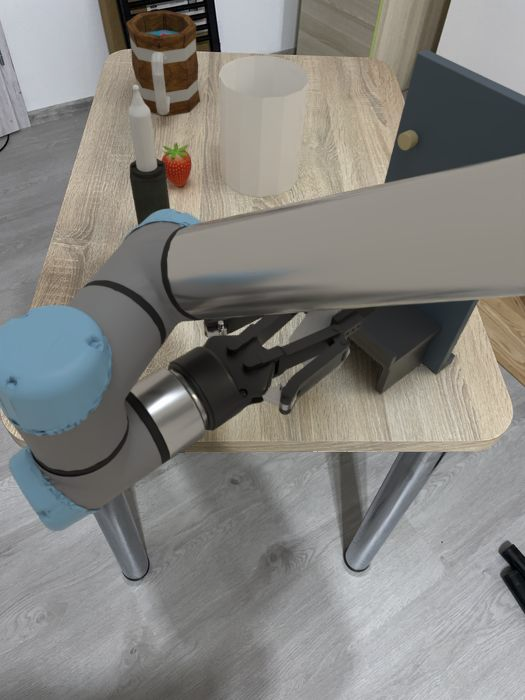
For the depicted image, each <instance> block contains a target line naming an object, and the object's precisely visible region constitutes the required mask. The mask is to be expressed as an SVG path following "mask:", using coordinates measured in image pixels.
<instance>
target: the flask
mask: <svg viewBox="0 0 525 700" xmlns="http://www.w3.org/2000/svg"><path fill="white" fill-rule="evenodd" d="M339 312H341V310H327V311H313V312H308V313H307V314H305V316H304V317H303V319H302V320H301V321H300V323H299V324H298V325H297V326H296V328H295V329H294V330H293V332H292V333H291V335H290V336H289V337H288V344H289V343H292V342H294V341H296V340H299V339H301V338H303V337H306V336H308V335H310V334H313V333H315V332H317V331H319V330H322V329H324V328H326V327H329V326H330V324H331V319H332V317H333V316H335V315H336V314H338V313H339ZM346 339H348V337H347V338H346ZM350 353H351V350H350V348H349V349H348V353H347V357H346V359H347V358H348V356H349V354H350ZM318 356H319V355H318ZM316 357H317V356H316ZM316 357H314V358H312V359H310V360H307V361H305V362H303V363H301V364H300V365H303V366H306V365H307V364H308V363H310V362H311V361H312V360H313V359H315V358H316ZM343 364H344V362H343V363H342V364H340V365H339V366H338V367H337V368H335V369H334V370H339V369H340V368H341V367H342V366H343Z"/></svg>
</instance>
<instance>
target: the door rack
mask: <svg viewBox="0 0 525 700" xmlns="http://www.w3.org/2000/svg"><path fill="white" fill-rule="evenodd" d="M405 97H406V98H405V100H404V103H403V108H402V111H401V116H400V120H399V124H398V127H397V131H396V135H395V139H394V143H393V147H392V151H391V155H390V159H389V161H388V162H389V163H388V166H387V171H386V175H385V178H384V182H383V184H384V183H388V182H393V181H398V180H402V179H407V178H412V177H416V176H421V175H426V174H430V173H435V172H440V171H444V170H449V169H454V168H458V167H463V166H468V165H472V164H477V163H481V162H486V161H491V160H495V159H500V158H505V157H509V156H514V155H519V154H523V153H525V94H523V93H520V92H518V91H515V90H513V89H511V88H510V87H507V86H505V85H503V84H501V83H498V82H496V81H494V80H493V79H490V78H488V77H486V76H484V75H482V74H480V73H478V72H475V71H474V70H471V69H469V68H467V67H465V66H463V65H461V64H458V63H456V62H454V61H453V60H450V59H448V58H446V57H443V56H442V55H439V54H437V53H435V52H433V51H432V50H429V49H424V50H422V51H419V52H418V53H417V54H416V57H415V62H414V64H413V69H412V72H411V77H410V80H409V84H408V89H407V92H406V96H405ZM479 301H480V299H478V300H464V301H450V302H436V303H423V304H409V305H395V306H382V307H376V309H375V311H374V312H372V313H371V314H369V315H368V316H366V317H365V318H363V322H362V325H361V327H360V329H359V330H358V331H356V332H355V333H353V334H352V335H350V336H349V337H348V339H349V340H351V341H352V342H353V343H355V344H356V345H357V346H358V347H359V348H360V349H361V350H363V351H364V352H365V353H366V355H368V356H370V357H371V358H372V360H374V361H375V362H376V363H378V364H379V365H380V366H381V367H382V370H381V373H380V375H379V378H378V381H377V384H376V386H375V392H377V393H378V394H379V395H382V394H383V393H385V392H386V391H387V390H389V389H390V388H391V387H392V386H394V385H395V384H396V383H397V382H399V381H401V380H402V379H403V378H404V377H406V376H407V375H408V374H410V373H411V372H413V370H415V369H416V368H418V367H419V366H420V365H421V363H422V364H423V365H424V366H425V367H427V369H429V370H430V371H432V373H434V374H436V375H438V374H439V373H440V372H441V371H443V370H444V369H445V368H446V367H448V366H449V365H450V364H452V363H453V362H454V359H455V357H456V355H455V354H454V353H453V351H454V349H455V347H456V345H457V343H458V341H459V339H460V337H461V335H462V333H463V332H464V330H465V328H466V326H467V324H468V322H469V320H470V318H471V316H472V314H473V313H474V310H475V308H476V306H477V305H478V303H479ZM342 310H344V309H341V311H342Z"/></svg>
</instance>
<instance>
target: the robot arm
mask: <svg viewBox="0 0 525 700" xmlns="http://www.w3.org/2000/svg"><path fill="white" fill-rule="evenodd" d="M519 297H525V153H523V154H519V155H514V156H509V157H505V158H500V159H495V160H491V161H486V162H481V163H477V164H472V165H468V166H463V167H458V168H454V169H449V170H444V171H440V172H435V173H430V174H426V175H421V176H416V177H412V178H407V179H402V180H398V181H393V182H388V183H384V182H383V183H379V184H375V185H374V184H373V185H369V186H366V187H361V188H357V189H352V190H346V191H343V192H337V193H333V194H328V195H323V196H319V197H314V198H310V199H305V200H301V201H295V202H291V203H287V204H286V203H285V204H281V205H276V206H272V207H268V208H263V209H259V210H254V211H249V212H248V211H247V212H244V213H240V214H234V215H230V216H226V217H220V218H216V219H212V220H207V221H202V220H200V219H199V218H197V217H196V216H194V215H193V214H190V213H189V212H185V211H184V212H181V211H177V210H176V209H174V208H170V209H162V210H159V211H156V212H154V213H152V214H151V215H150V216H148V217H147V218H146V219H145V220H144V221H143V222H142V223H141V224H140V225H138V224H137V226H135V227H133V228H132V229H131V230H130V232H129V233H128V234H127V235H126V236H125V237H124V239H123V240H122V242H121V244H120V245H119V246H118V247H117V248H116V250H114V252H113V253H112V254H111V255H110V256H109V257H108V258H107V259H106V260H105V262H104V263H103V264H102V266H100V268H99V269H98V270H97V271H96V273H95V274H94V275H93V276H92V277H91V278H90V279H89V281H87V283H86V284H85V285H83V287H82V288H81V289H80V290H79V291H78V292H77V293H76V294H75V295H74V297H73V298H72V299H71V300H70V301H69V302H68V303H67V305H64V304H63V305H61V304H48V305H47V304H46V305H41V306H36V307H33V308H32V307H31V308H30V309H28V310H27V313H25V314H23V315H21V316H18V317H12V318H10V319H9V320H8V321H5V323H3V325H2V326H0V409H1V411H2V414H3V415H4V416H5V418H7V420H8V421H9V423H10V424H11V425H12V426H13V427H14V429H15V430H16V431H17V433H18V434H19V435H20V437H21V438H22V440H23V441H24V443H25V446H24V447H22V448H21V449H20V450H18V451H17V452H16V453H13V455H12V456H11V457H10V459H9V460H8V469H9V471H10V473H11V476H12V478H13V479H14V481H15V483H16V485H17V486H18V487H19V489H20V491H21V493H22V494H23V496H24V498H25V499H26V500H27V502H28V504H29V506H30V507H31V508H32V510H33V512H35V514H36V515H37V516H38V519H39V520H40V522H41V523H42V524H43V526H44V527H45V528H46V529H48V530H49V531H52V532H61V531H64V530H66V529H68V528H70V527H71V526H73V525H74V524H76V523H77V522H79V521H81V520H83V519H84V518H86V517H87V516H89V515H93V514H96V513H97V512H99V511H100V510H101V509H102V507H104V506H106V504H108V503H110V502H111V501H112V500H114V499H115V498H117V497H118V496H120V495H121V494H122V493H124V492H126V491H127V490H129V489H130V488H131V487H133V486H134V485H135V484H137V483H138V482H140V481H141V480H142V479H144V478H145V477H147V476H148V475H150V474H151V473H153V472H154V471H155V470H157V469H159V468H160V467H161V466H162V465H164V464H166V463H167V462H168V461H170V460H172V459H174V458H175V457H177V456H178V455H180V453H182V452H184V451H186V450H187V449H188V448H190V447H191V446H193V445H194V444H195V443H197V442H199V441H200V440H201V439H203V438H204V437H205V435H206V431H211V432H213V431H215V430H217V429H218V428H220V427H221V426H223V425H224V424H225V423H227V422H228V421H230V420H231V419H233V418H234V417H236V416H238V415H239V414H240V413H241V412H242V411H244V409H246V408H247V407H248V406H251V405H257V404H261V403H263V402H264V401H265V402H267V403H269V404H271V405H273V406H274V405H275V406H276V407H278V412H279V413H280V414H281V415H283V416H286V415H289V414H291V413H292V411H293V409H294V408H295V406H296V404H297V402H298V400H299V399H300V398H301V397H303V395H305V394H306V393H308V391H310V390H311V389H312V388H314V387H315V386H316V385H317V384H318V383H319V382H321V381H322V380H323V379H324V378H326V377H327V376H328V375H329V374H331V373H332V372H333V371H334V370H336V369H335V368H337V367H338V366H339V365H340V364H342V363H343V364H344V362H345V361H346V360H347V358H348V356H347V353H348V349H350V345H351V342H350V339H349V336H350V335H352V334H353V333H355V332H356V331H358V330H359V329H360V327H361V325H362V322H363V318H365V317H366V316H368V315H369V314H371V313H372V312H374V311H375V309H376V307H382V306H395V305H409V304H423V303H436V302H450V301H464V300H478V299H479V300H489V299H503V298H505V299H506V298H519ZM341 309H344V310H342V311H341V312H339V313H338V314H336V315H335V316H333V317H332V319H331V324H330V326H329V327H326V328H324V329H322V330H319V331H317V332H315V333H313V334H310V335H308V336H306V337H303V338H301V339H299V340H296V341H294V342H292V343H289V342H288V343H287V344H284V345H283V346H280V345H275V346H272V347H270V348H266V347H265V346H264V345H265V344H266V343H267V342H268V341H269V340H270V339H272V337H274V336H275V335H276V334H277V333H278V332H279V331H280V330H282V329H283V328H284V327H285V326H286V325H287V324H288V323H290V321H291V320H293V319H294V318H295V317H296V316H297V315H298V314H299V313H303V314H304V315H306V314H307V313H308V312H313V311H327V310H341ZM196 321H203V331H204V332H203V333H204V336H205V337H206V338H207V339H206V341H205V342H204V344H203V345H202V346H196V347H194V348H192V349H190V350H188V351H186V352H185V353H183V354H181V355H180V356H178V357H177V358H175V359H173V360H171V361H170V362H169V364H168V366H167V368H166V367H159V368H157V369H156V370H154V371H152V372H150V373H149V374H147V375H145V376H143V374H144V372H145V371H146V369H147V368H148V367H149V365H150V363H151V362H152V360H153V359H154V357H156V355H157V353H158V352H159V351H160V350H161V348H162V347H163V345H164V343H165V342H166V341H167V340H168V339H169V337H170V335H171V334H172V332H173V330H175V328H176V327H177V326H178V325H179V324H180V323H183V322H196ZM254 322H255V323H254ZM243 328H245V329H243ZM241 329H243V330H242V331H241V332H240V333H239V334H232V333H234V332H236V331H238V330H241ZM346 338H347V339H346ZM318 355H319V356H318ZM316 356H317V357H316ZM314 357H316V358H315V359H313V360H312V361H311V362H310V363H308V364H307V365H306V366H305V365H303V367H301V368H300V369H299V370H298V371H297V372H295V373H294V374H293V375H292V376H291V377H290V378H289V379H288V380H287V382H286V381H281V382H280V384H277V385H276V386H275V387H271V385H272V382H273V379H276V378H278V377H280V376H282V375H283V374H284V373H285V372H286V371H287V370H289V369H292V368H294V367H296V366H298V365H302V364H301V363H303V362H305V361H307V360H310V359H312V358H314ZM346 357H347V358H346ZM343 364H342V365H343ZM141 376H143V377H142V378H141Z"/></svg>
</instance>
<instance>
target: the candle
mask: <svg viewBox="0 0 525 700" xmlns="http://www.w3.org/2000/svg"><path fill="white" fill-rule="evenodd" d="M132 91H133V94H132V99H131V104H130V106H129V107H128V110H127V114H128V115H127V116H128V121H129V127H130V128H129V129H130V134H131V141H132V146H133V152H134V159H135V160H133V161H132V162H130V164H129V181H130V187H131V193H132V199H133V204H134V211H135V215H136V221H137V226H138V225H140V224H141V223H142V222H143V221H144V220H145V219H146V218H147V217H148V216H150V215H151V214H152V213H154V212H156V211H159V210H162V209H171V203H170V195H169V187H168V178H167V177H166V168H165V163H164V162H163V161H161V160H162V159H161V160H160V159H159V158H157V152H156V144H155V137H154V129H153V121H152V113H151V112H150V109H149V108H148V106H147V105H146V104H145V103H144V101H143V99H142V97H141V94H140V92H139V86H138V85H136V84H134V85H133V86H132Z"/></svg>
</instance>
